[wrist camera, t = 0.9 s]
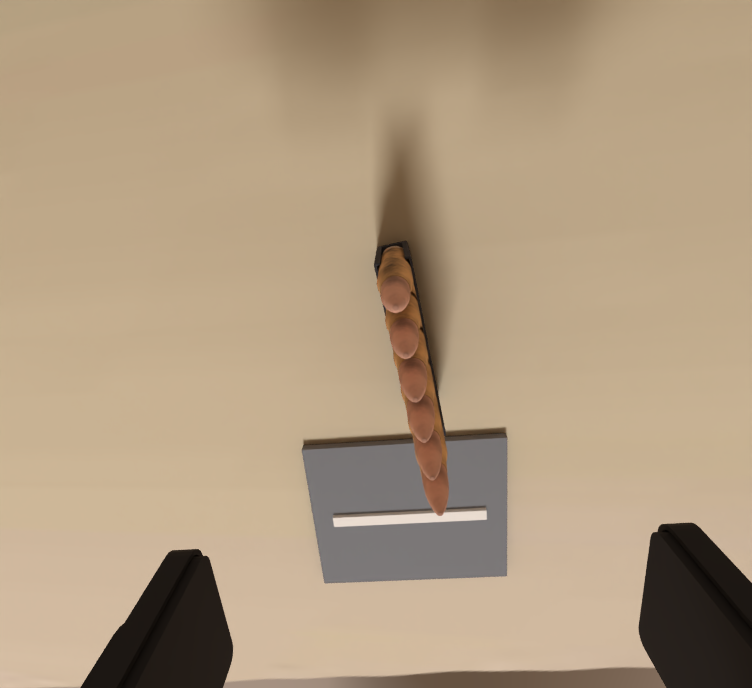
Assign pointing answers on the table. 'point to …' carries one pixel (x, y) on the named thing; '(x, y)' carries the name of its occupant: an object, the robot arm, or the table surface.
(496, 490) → the mat
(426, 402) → the ammunition clip
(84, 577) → the table surface
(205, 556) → the robot arm
